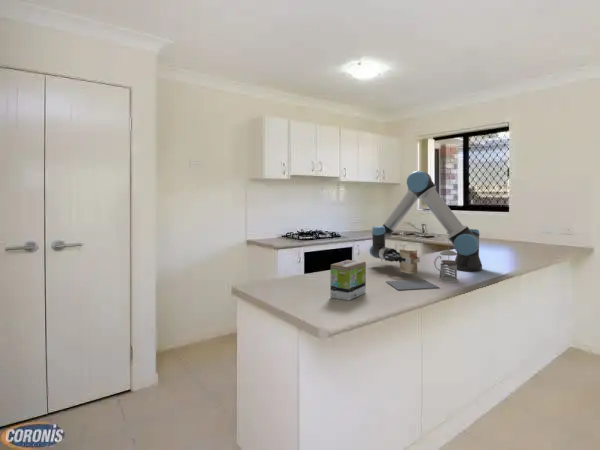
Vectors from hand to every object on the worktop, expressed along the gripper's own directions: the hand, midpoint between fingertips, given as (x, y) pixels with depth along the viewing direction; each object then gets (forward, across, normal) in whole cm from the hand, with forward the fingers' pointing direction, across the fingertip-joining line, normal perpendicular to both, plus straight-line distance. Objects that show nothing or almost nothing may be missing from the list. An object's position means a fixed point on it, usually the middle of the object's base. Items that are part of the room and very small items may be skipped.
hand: (414, 260), depth 188 cm
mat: (+11, +10, -10) cm, 18 cm away
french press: (+10, -11, -10) cm, 18 cm away
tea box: (+12, +46, -10) cm, 49 cm away
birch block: (-5, 0, -7) cm, 9 cm away
